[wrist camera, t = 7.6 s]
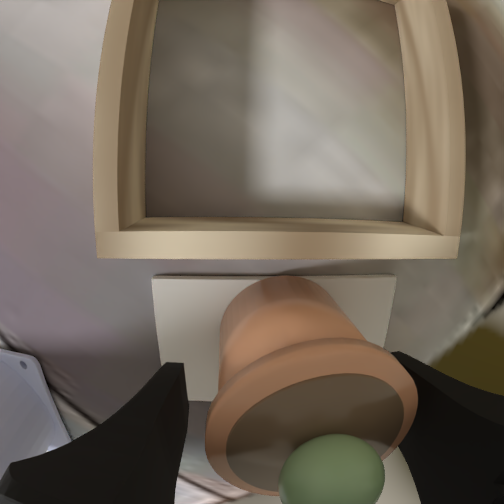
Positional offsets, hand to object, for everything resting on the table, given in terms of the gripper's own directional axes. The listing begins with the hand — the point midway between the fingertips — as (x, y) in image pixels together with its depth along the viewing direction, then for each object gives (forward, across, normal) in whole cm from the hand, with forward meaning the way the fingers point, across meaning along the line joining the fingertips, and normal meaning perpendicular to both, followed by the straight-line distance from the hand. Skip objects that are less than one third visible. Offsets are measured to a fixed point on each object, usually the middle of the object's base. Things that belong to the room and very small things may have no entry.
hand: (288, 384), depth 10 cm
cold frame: (+3, 0, -10) cm, 11 cm away
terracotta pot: (+3, 0, -1) cm, 3 cm away
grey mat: (+3, 0, 0) cm, 3 cm away
